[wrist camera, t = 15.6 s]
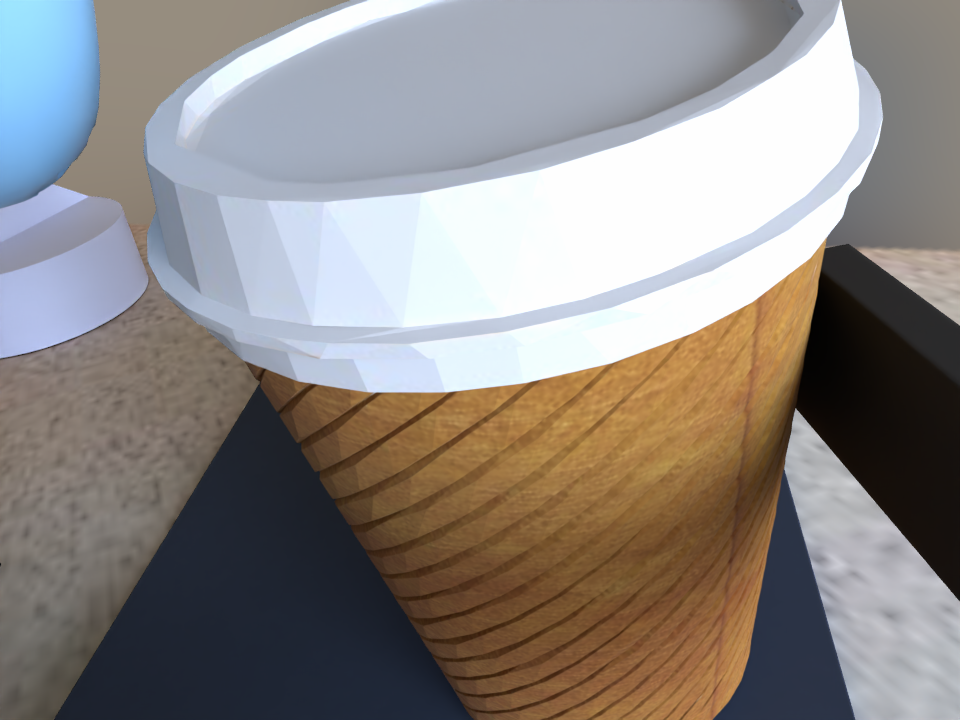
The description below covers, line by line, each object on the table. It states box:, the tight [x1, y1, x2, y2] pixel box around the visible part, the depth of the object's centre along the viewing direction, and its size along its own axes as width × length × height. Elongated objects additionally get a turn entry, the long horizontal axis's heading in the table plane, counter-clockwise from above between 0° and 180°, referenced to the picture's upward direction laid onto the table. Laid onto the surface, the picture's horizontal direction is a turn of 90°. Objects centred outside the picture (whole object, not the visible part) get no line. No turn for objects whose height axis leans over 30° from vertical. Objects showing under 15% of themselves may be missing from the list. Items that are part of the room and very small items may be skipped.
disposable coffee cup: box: [144, 0, 883, 720], centre depth 14 cm, size 10×10×12 cm
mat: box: [54, 382, 855, 720], centre depth 19 cm, size 16×22×1 cm
